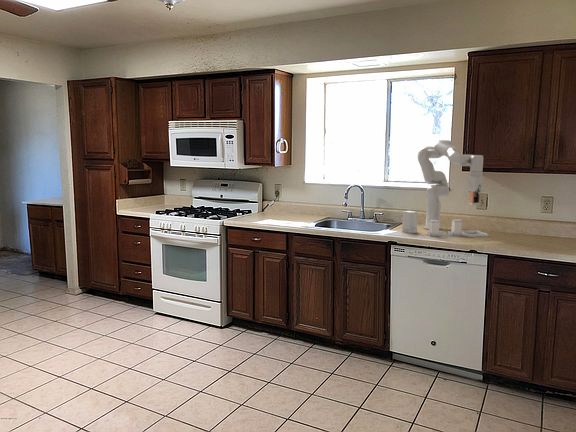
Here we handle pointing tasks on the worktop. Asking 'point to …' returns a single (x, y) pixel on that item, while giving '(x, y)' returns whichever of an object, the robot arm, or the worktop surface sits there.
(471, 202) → the marked fuse
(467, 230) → the tray
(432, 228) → the left fuse
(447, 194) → the robot arm
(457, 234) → the right fuse
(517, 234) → the worktop surface
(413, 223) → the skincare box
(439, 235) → the fuse board
